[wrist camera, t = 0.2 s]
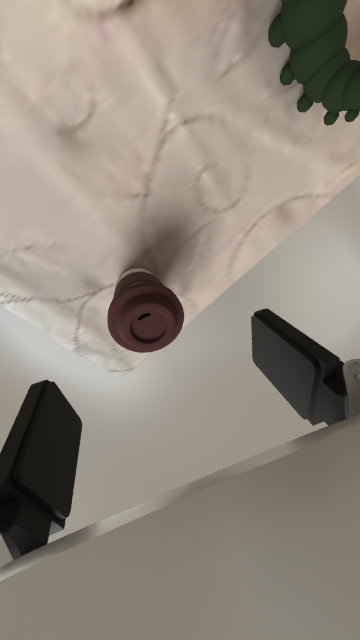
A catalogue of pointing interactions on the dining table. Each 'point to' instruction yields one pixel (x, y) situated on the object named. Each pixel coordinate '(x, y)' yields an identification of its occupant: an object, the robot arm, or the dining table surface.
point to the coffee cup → (144, 312)
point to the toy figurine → (318, 56)
